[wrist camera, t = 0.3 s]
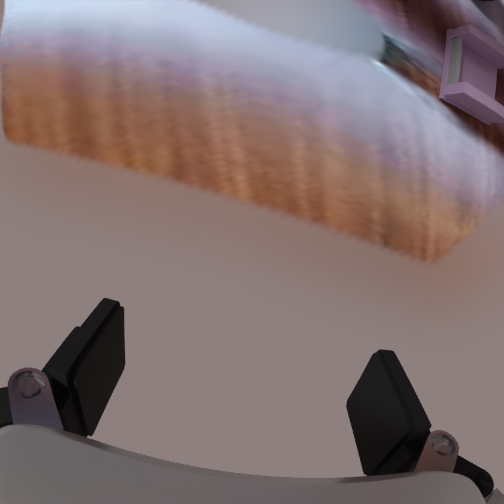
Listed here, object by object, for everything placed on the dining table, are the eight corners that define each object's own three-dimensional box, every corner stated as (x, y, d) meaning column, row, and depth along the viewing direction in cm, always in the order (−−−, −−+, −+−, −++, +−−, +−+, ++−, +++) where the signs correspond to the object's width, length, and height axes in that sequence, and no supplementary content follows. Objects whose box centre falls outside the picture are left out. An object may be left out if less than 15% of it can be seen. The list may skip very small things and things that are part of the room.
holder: (446, 30, 29) (469, 20, 24) (493, 59, 30) (517, 55, 24) (438, 98, 34) (463, 95, 28) (486, 124, 34) (511, 126, 28)
